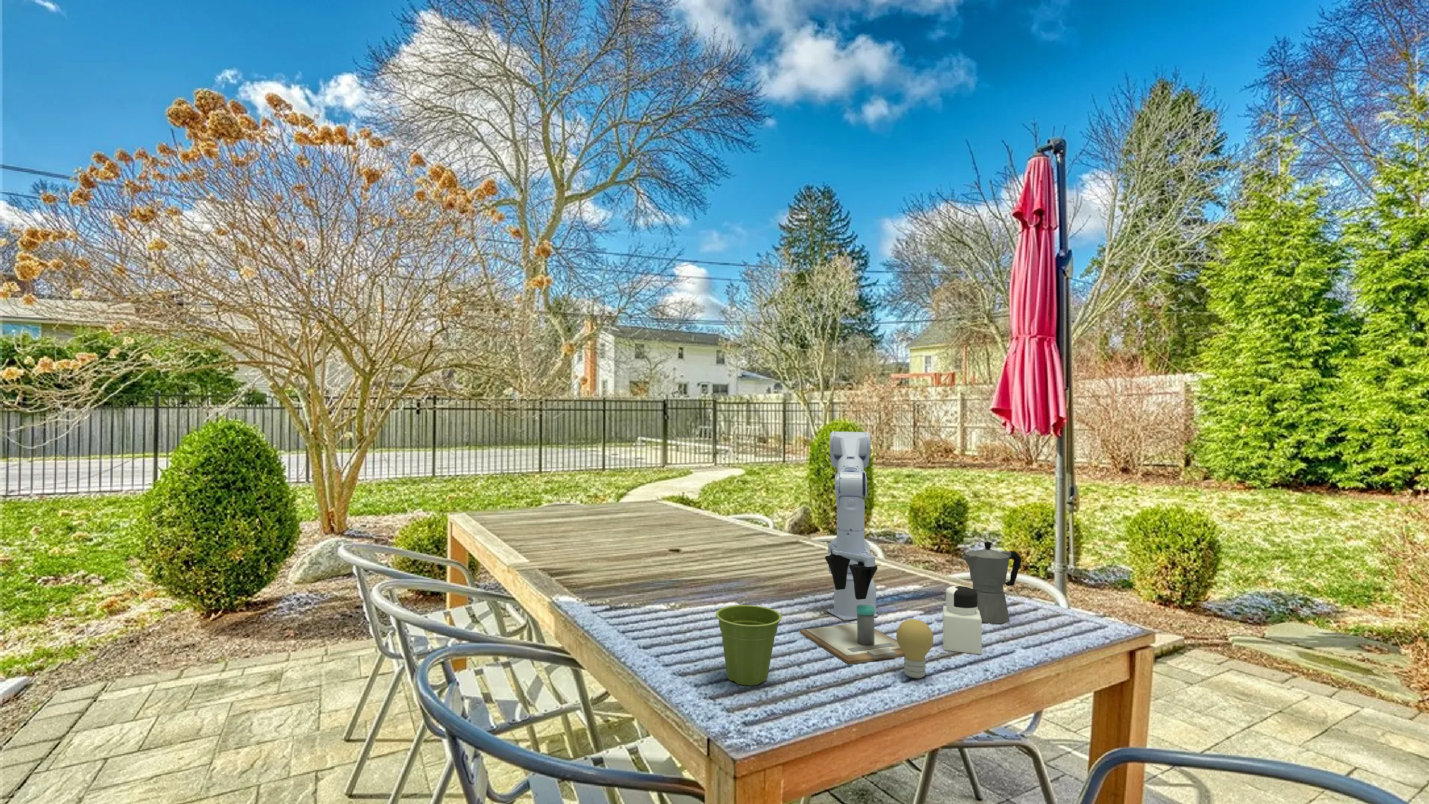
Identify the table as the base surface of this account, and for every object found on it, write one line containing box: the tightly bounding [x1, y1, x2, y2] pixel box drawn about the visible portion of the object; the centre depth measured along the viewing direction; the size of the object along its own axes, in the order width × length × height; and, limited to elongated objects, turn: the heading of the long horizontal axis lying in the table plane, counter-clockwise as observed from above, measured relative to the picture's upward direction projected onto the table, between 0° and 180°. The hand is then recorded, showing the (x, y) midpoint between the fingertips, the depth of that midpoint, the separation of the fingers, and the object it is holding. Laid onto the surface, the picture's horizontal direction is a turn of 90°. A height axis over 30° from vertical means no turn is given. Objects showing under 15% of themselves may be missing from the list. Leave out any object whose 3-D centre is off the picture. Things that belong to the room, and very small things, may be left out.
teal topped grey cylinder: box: [856, 605, 875, 646], centre depth 127 cm, size 4×4×7 cm
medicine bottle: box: [942, 585, 983, 655], centre depth 128 cm, size 7×7×12 cm
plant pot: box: [715, 604, 783, 687], centre depth 111 cm, size 12×12×11 cm
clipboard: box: [799, 622, 905, 666], centre depth 129 cm, size 16×20×1 cm
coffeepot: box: [961, 541, 1022, 625], centre depth 148 cm, size 15×9×18 cm, turn 101°
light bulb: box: [896, 618, 934, 679], centre depth 113 cm, size 6×6×10 cm
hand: (850, 593), depth 131 cm, fingers open, 7 cm apart
